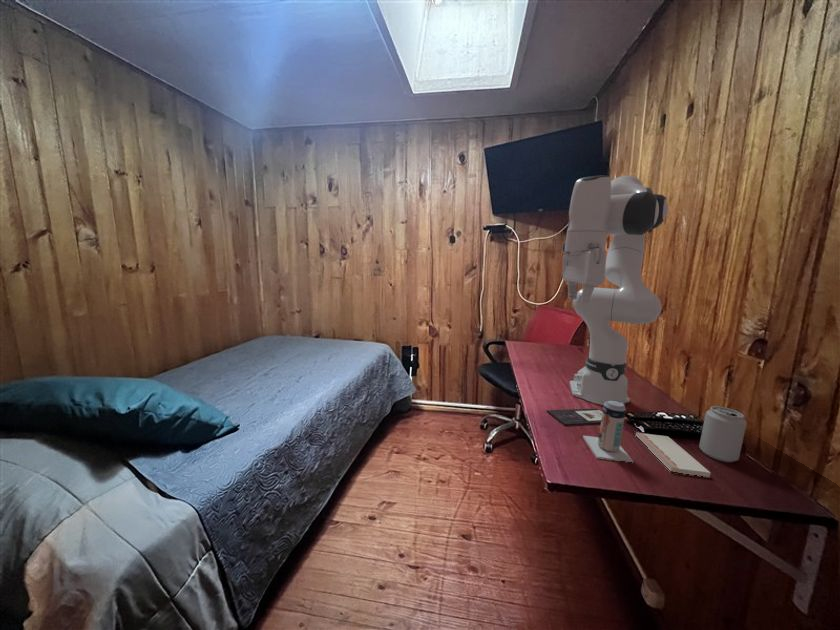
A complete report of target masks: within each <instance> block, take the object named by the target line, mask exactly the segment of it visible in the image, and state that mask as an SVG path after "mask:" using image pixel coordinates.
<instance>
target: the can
mask: <svg viewBox="0 0 840 630" xmlns="http://www.w3.org/2000/svg"><path fill="white" fill-rule="evenodd" d="M709 408H710V409H708V410H707V411H706V412H705V415H704V421H703V424H702V431H701V434H700V440H699V444H698V447H699V449H700V450H701V451H702V452H703V454H704V455H706V456H707V457H708V458H709V457H710V458H712V459H714V460H717V461H720V462H723V463H733V462H736V461H739V459H740V456H741V455H740V454H741V451H742V445H743V440H744V438H745V437H744V436H745V433H746V427H747V421H746V419H744V418H745V415H744V414H743V413H742V412H740V411H738V410H735V409H733V408H728V407H723V406H717V405H714V406H713V405H712V406H710V407H709Z"/></svg>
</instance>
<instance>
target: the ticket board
mask: <svg viewBox="0 0 840 630" xmlns="http://www.w3.org/2000/svg"><path fill="white" fill-rule="evenodd" d="M636 436H637V437H638V438H639V439H640V440H641V441H642V442H643V443H644V444H645V445H646V446H647V447H648V449H649V450H650V451H651V452H652V453H653V454H654V455H655V456H656V457H657V458H658V459H659V460H660V461H661V462H662V463H663V464H664V465H665V466H666V467H667V468H668V469H669V470H670V471H673V472H678V473H683V474H682V475H686V474H689V475H688V476H694V475H697V476H696V477H701V476H703V477H702V478H710V477H711V471H709V470H708V469H707V468H706V467H704V466H703V465H702V464H701V463H700V462H699V461H698V460H696V459H695V458H694V457H693V456H692V455H690V453H688V452H687V451H686V450H685V449H683V448H682V447H681V446H680V445H679V444H677V442H675V441H674V440H673V439H672V438H670V437H669V436H667V435H660V434H659V435H658V434H652V433H651V434H650V433H643V432H638V431H637V432H635V437H636ZM648 449H647V450H648ZM649 450H648V451H649ZM650 451H649V452H650ZM651 452H650V453H651ZM652 453H651V454H652ZM653 454H652V455H653ZM654 455H653V456H654ZM655 456H654V457H655ZM656 457H655V458H656ZM657 458H656V459H657ZM658 459H657V460H658ZM659 460H658V461H659ZM660 461H659V462H660ZM661 462H660V463H661ZM662 463H661V464H662ZM663 464H662V465H663ZM664 465H663V466H664ZM665 466H664V467H665ZM666 467H665V468H666ZM667 468H666V469H667ZM668 469H667V470H668ZM669 470H668V471H669ZM670 471H669V472H670ZM678 473H677V474H678Z"/></svg>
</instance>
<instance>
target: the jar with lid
mask: <svg viewBox="0 0 840 630" xmlns="http://www.w3.org/2000/svg"><path fill="white" fill-rule="evenodd" d="M602 407H603V408H602V412H603V413H602V420H601V424H600V426H599V434H598V437H599V440H598V445H599V446H600V447H601V448H602V449H604V450H606V451H609V452H616V451H619V449H620V446H621V442H622V435H623V428H624V423H625V415H626V410H627V408H626V405H625V404H623V403H622V402H619V401H615V400H607V401H606V402H605V403H604V405H602Z"/></svg>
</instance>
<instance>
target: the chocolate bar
mask: <svg viewBox="0 0 840 630" xmlns="http://www.w3.org/2000/svg"><path fill="white" fill-rule="evenodd" d="M546 413H548V414H549V415H550V416H551V418H554V419H555V420H556V421H558V422H559V423H560V424H561V425H562V426H564V427H570V426H588V425H589V426H590V425H601V420H602V413H603V410H600V409H598V408H576V409H575V408H573V409H571V408H570V409H550V410H549V409H548V410H546Z"/></svg>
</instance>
